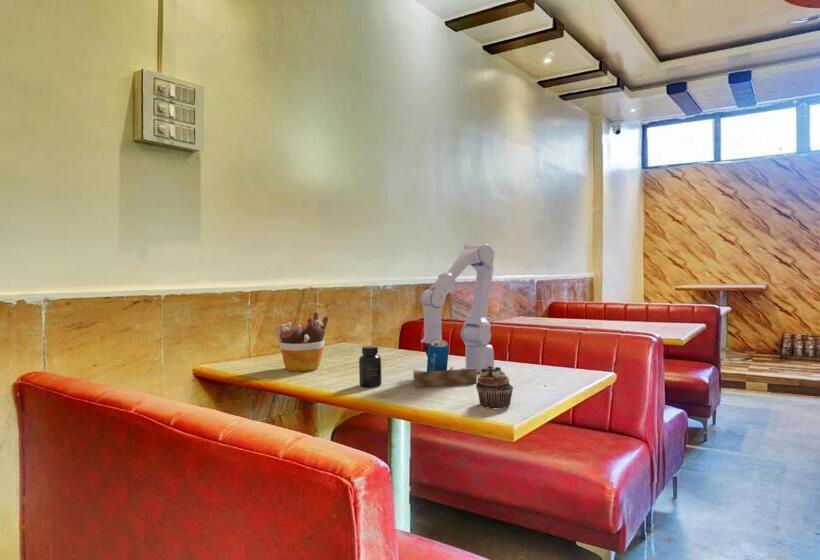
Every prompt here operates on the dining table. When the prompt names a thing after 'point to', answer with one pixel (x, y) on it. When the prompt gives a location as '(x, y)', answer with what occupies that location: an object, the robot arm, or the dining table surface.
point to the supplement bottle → (370, 367)
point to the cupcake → (494, 388)
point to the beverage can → (437, 356)
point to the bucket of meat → (302, 344)
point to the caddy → (444, 377)
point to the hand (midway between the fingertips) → (433, 367)
